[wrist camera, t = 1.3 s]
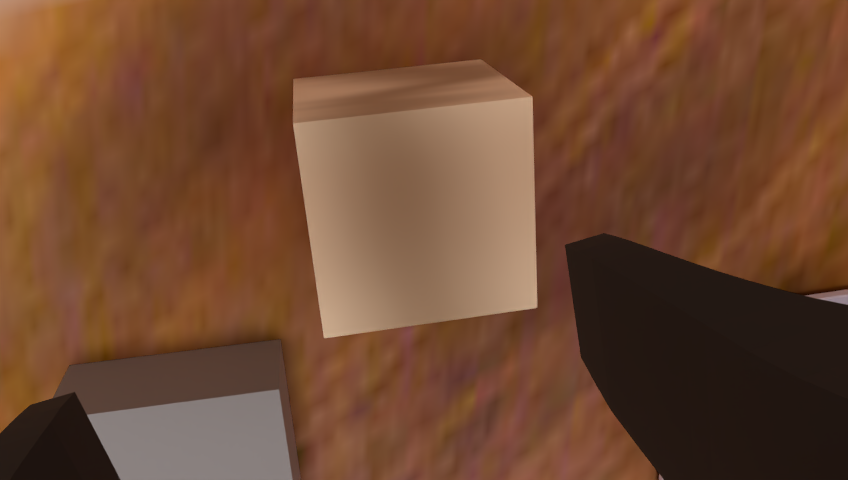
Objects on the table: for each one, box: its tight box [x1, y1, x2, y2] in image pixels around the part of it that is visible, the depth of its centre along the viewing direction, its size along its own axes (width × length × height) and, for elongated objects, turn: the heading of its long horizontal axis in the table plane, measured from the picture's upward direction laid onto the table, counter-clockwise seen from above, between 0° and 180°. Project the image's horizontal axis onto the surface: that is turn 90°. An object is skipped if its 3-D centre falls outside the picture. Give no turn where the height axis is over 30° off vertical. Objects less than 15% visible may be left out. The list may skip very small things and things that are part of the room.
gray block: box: [53, 339, 301, 480], centre depth 23 cm, size 6×6×3 cm
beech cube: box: [293, 59, 537, 338], centre depth 19 cm, size 5×5×5 cm
